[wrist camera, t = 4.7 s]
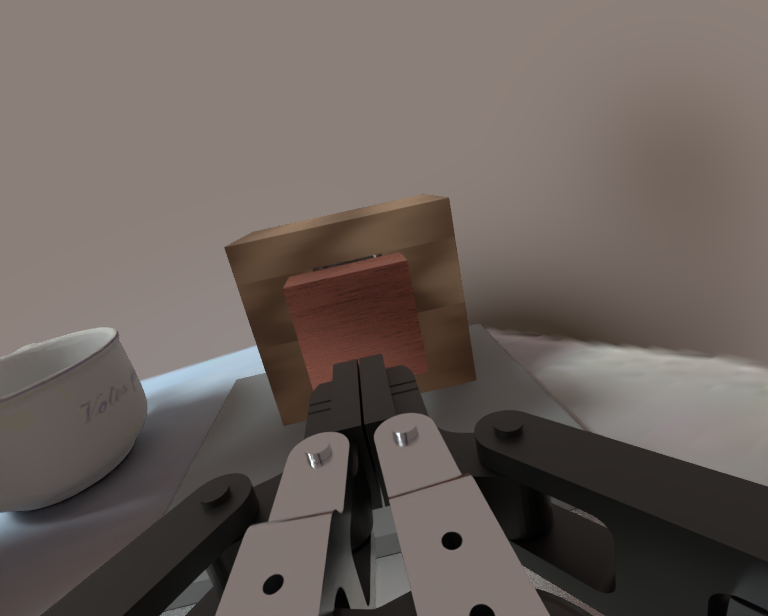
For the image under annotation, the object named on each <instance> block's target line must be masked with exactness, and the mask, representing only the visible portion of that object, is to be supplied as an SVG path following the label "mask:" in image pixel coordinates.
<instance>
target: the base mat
mask: <svg viewBox="0 0 768 616" xmlns="http://www.w3.org/2000/svg"><path fill="white" fill-rule="evenodd" d="M469 333H470V339H471V346H472V353H473V359H474V366H475V372H476V379H477V380H475V381H471V382H467V383H463V384H459V385H454V386H450V387H446V388H442V389H437V390H433V391H429V392H425V393H421V396H422V399H423V402H424V405H425V407H426V410H427V413H428V416H429V418H431V419H432V420H433V421H434V423H435V425H436V426H437V427H438V428H440V429H443V430H445V431H449V432H456V433H474V428H475V425H476V424H477V422H478V421H479V420H480V419H481V418H483V417H484V416H486V415H488V414H490V413H493V412H497V411H502V410H516V411H522V412H526V413H529V414H532V415H535V416H539V417H542V418H545V419H548V420H552V421H555V422H558V423H562V424H565V425H568V426H571V427H575V428H578V429H581V430H583V429H582V428H581V427H580V425H579V424H578V423H577V422H576V421H575V420H574V419H573V418H572V417H571V416H570V415H569V414H568V413H567V412H566V411H565V410H564V409H563V408H562V407H561V406H560V405H559V404H558V403H557V402H556V401H555V400H554V399H553V398H552V397H551V396H550V395H549V394H548V393H547V392H546V391H545V390H544V389H543V388H542V387H541V386H540V385H539V384H538V383H537V382H536V381H535V380H534V379H533V378H532V377H531V376H530V375H529V374H528V372H527V371H526V370H525V369H524V368H523V367H522V366H521V365H520V364H519V363H518V362H517V361H516V360H515V359H514V358H513V357H512V356H511V355H510V354H509V353H508V352H507V351H506V350H505V349H504V348H503V347H502V346H501V345H500V344H499V343H498V342H497V341H496V340H495V339H494V338H493V337H492V336H491V335H490V334H489V333H488V332H487V331H486V330H485V329H484V328H483V327H482V326H481V325H480V324H475V325H470V326H469ZM306 422H307V421H303V422H298V423H294V424H290V425H286V426H283V423H282V420H281V417H280V414H279V411H278V408H277V405H276V402H275V399H274V396H273V393H272V389H271V386H270V383H269V380H268V377H267V374H266V373H264V374H260V375H255V376H251V377H247V378H243V379H238V380H236V382H235V384H234V385H233V387H232V389H231V391H230V393H229V395H228V397H227V399H226V400H225V402H224V404H223V406H222V408H221V410H220V412H219V413H218V415H217V417H216V419H215V421H214V423H213V425H212V427H211V428H210V430H209V432H208V434H207V436H206V438H205V440H204V441H203V443H202V445H201V447H200V449H199V451H198V453H197V455H196V456H195V458H194V460H193V462H192V464H191V466H190V468H189V469H188V471H187V473H186V475H185V477H184V479H183V481H182V483H181V484H180V486H179V488H178V490H177V492H176V494H175V496H174V497H173V499H172V501H171V503H170V505H169V507H168V509H167V511H166V512H165V514H164V515H166V514H167V513H168V512H169V511H171V510H172V509H173V508H174V507H176V506H177V505H178V504H179V503H181V502H182V501H183V500H184V499H185V498H187V497H188V496H189V495H190V494H192V493H193V492H194V491H195V490H197V489H198V488H199V487H201V486H202V485H204V484H205V483H207V482H208V481H210V480H212V479H214V478H217V477H219V476H222V475H226V474H231V473H240V474H244V475H246V476H247V477H248V478H250V481H251V483H252V486H253V487H254V486H256V485H258V484H260V483H263V482H265V481H267V480H269V479H271V478H273V477H275V476H277V475H279V474H281V473H282V472H284V468H285V465H286V462H287V459H288V456H289V454H290V452H291V451H292V449H293V448H294V447H295V446H296V445H297V444H299V443H300V442H301V441H303V440H304V435H305V428H306ZM380 489H381V487H380ZM381 497H382V505H383V508H379V509H375V510H372V511H373V531H374V535H375V540H376V558H378V557H382V556H386V555H390V554H394V553H398V552H402V551H401V547H400V543H399V539H398V535H397V531H396V527H395V523H394V518H393V514H392V510H391V506H387V507H385V503H384V499H383V495H382V491H381ZM551 502H552V503H553V504H555V505H558V506H560V507H562V508H564V509H566V510H571V509H575V507H573V506H571V505H569V504H567V503H564V502H562V501H560V500H558V499H555V498H553V497H551ZM212 587H213V585H212V583H211V581H210V579H209V576H208V574H207V572H206V570H205V571H204V572H203V573H202V574H201V575H200V576H199V577H198V578H197V579H196V580H195V581H194V582H193V583H192V584H191V585H190V586H189V587H188V588H187V589H186V590H185V591H184V592H183V593H182V594H181V595H180V596H179V597H178V598H176V599H175V600H174V601H173V602H172V603H171V604H170V605H169V606H168V607H167V608H166V609H165V610H164V611H166V610H170V609H174V608H178V607H182V606H186V605H190V604H194V603H198V602H199V601H200V600H201V599H202V598H203V597H204V595H205V594H206V593H207V592H208V591H209V590H210V589H211V588H212Z"/></svg>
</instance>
